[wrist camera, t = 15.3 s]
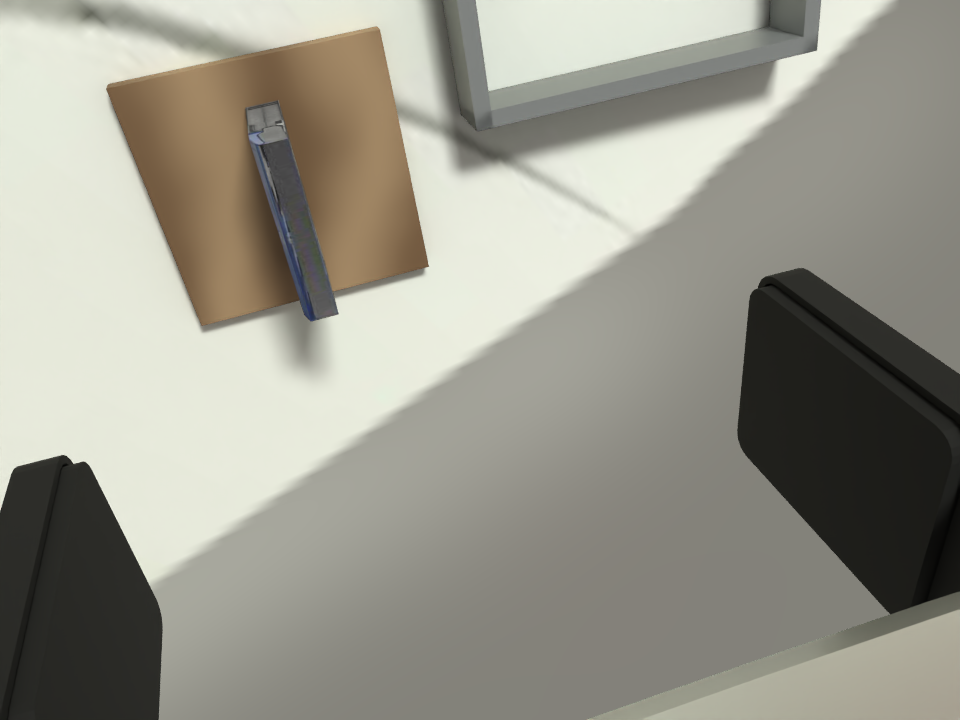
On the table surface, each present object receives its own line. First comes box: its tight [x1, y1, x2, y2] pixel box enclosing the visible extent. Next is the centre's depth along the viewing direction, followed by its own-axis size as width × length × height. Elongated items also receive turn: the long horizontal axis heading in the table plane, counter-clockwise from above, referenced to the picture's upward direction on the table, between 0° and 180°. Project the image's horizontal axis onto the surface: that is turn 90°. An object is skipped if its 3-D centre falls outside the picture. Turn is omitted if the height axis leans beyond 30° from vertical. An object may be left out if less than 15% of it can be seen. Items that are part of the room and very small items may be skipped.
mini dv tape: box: [245, 100, 338, 321], centre depth 36 cm, size 8×2×6 cm, turn 8°
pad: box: [106, 27, 429, 326], centre depth 39 cm, size 12×12×1 cm
